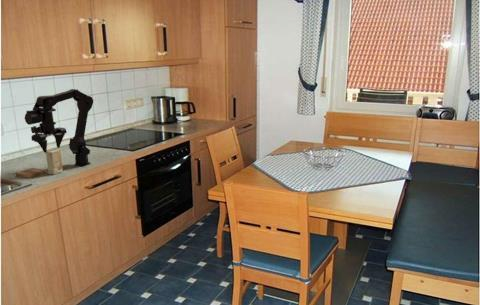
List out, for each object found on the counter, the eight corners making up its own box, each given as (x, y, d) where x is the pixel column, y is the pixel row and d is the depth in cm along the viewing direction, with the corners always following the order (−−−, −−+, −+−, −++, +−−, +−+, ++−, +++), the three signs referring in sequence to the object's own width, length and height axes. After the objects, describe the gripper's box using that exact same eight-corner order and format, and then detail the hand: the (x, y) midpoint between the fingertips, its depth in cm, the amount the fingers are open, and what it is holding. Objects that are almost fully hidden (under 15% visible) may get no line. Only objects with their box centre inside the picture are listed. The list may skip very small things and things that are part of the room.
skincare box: (54, 175, 214) (51, 152, 210) (48, 174, 215) (45, 151, 212) (63, 171, 219) (60, 149, 216) (57, 170, 221) (54, 148, 218)
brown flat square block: (32, 171, 221) (32, 167, 221) (46, 173, 218) (45, 170, 217) (16, 176, 213) (15, 173, 212) (30, 179, 209) (29, 175, 208)
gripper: (48, 116, 219) (52, 144, 224) (20, 123, 202) (25, 153, 207) (65, 117, 216) (69, 145, 220) (38, 125, 199) (43, 155, 204)
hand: (51, 150), depth 213 cm, fingers open, 9 cm apart
